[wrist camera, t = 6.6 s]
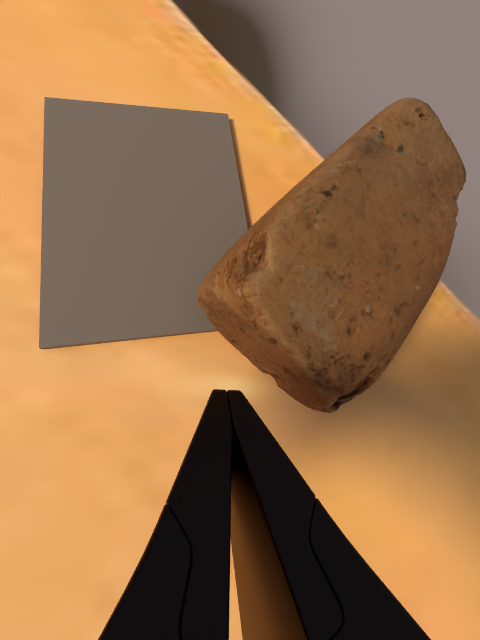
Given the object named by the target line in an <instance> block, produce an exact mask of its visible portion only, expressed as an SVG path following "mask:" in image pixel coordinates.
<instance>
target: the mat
mask: <svg viewBox="0 0 480 640" xmlns="http://www.w3.org/2000/svg"><path fill="white" fill-rule="evenodd" d="M247 230H248V226H247V221H246V215H245V209H244V203H243V198H242V192H241V186H240V181H239V175H238V169H237V163H236V158H235V152H234V146H233V140H232V135H231V129H230V123H229V118H228V114H223V113H212V112H201V111H190V110H179V109H168V108H157V107H146V106H135V105H124V104H114V103H103V102H92V101H81V100H70V99H59V98H48V97H45V106H44V152H43V197H42V242H41V287H40V333H39V348H41V349H51V348H61V347H70V346H80V345H89V344H99V343H108V342H118V341H127V340H136V339H146V338H155V337H165V336H174V335H184V334H193V333H203V332H212V331H218V330H217V329H216V328H215V327H214V325H213V324H212V323H211V322H210V321H209V319H208V318H207V314H206V313H205V312H204V311H203V310H202V308H200V307H199V304H198V300H197V294H198V290H199V286H200V285H201V283H202V281H203V280H204V278H205V277H206V275H207V274H208V272H209V271H210V270H211V269H212V267H213V266H214V265H215V264H216V263H217V261H218V260H219V259H220V258H221V257H222V256H223V255H224V253H225V252H226V251H227V250H228V249H229V248H230V247H231V246H232V245H233V244H234V243H235V242H236V241H237V240H238V239H239V238H240V237H241V236H242V235H243V234H244V233H245V232H246V231H247Z"/></svg>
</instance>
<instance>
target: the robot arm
mask: <svg viewBox="0 0 480 640" xmlns="http://www.w3.org/2000/svg"><path fill="white" fill-rule="evenodd" d="M230 537H231V544H232V553H233V561H234V570H235V578H236V586H237V595H238V603H239V612H240V620H241V628H242V637H243V640H431V639H430V638H429V637H428V636H427V634H426V633H425V632H424V631H423V630H422V628H421V627H420V626H419V625H418V624H417V622H416V621H415V620H414V619H413V618H412V616H411V615H410V614H409V613H408V612H407V610H406V609H405V608H404V607H403V606H402V605H401V603H400V602H399V601H398V600H397V599H396V597H395V596H394V595H393V594H392V593H391V591H390V590H389V589H388V588H387V587H386V585H385V584H384V583H383V582H382V581H381V580H380V578H379V577H378V576H377V575H376V574H375V572H374V571H373V570H372V569H371V568H370V566H369V565H368V564H367V563H366V562H365V560H364V559H363V558H362V557H361V555H360V554H359V553H358V552H357V550H356V549H355V548H354V547H353V545H352V544H351V543H350V542H349V541H348V539H347V538H346V537H345V535H344V534H343V533H342V531H341V530H340V529H339V527H338V526H337V525H336V523H335V522H334V521H333V519H332V518H331V517H330V515H329V514H328V512H327V511H326V510H325V508H324V507H323V505H322V504H321V503H320V501H319V500H318V499H317V498H316V499H315V494H314V493H313V491H312V490H311V489H310V487H309V486H308V484H307V483H306V482H305V480H304V479H303V477H302V476H301V475H300V473H299V472H298V470H297V469H296V468H295V466H294V465H293V463H292V462H291V461H290V459H289V458H288V456H287V455H286V454H285V452H284V451H283V449H282V448H281V447H280V445H279V444H278V442H277V441H276V440H275V438H274V437H273V435H272V434H271V432H270V431H269V430H268V428H267V427H266V425H265V424H264V423H263V421H262V420H261V418H260V417H259V416H258V414H257V413H256V411H255V410H254V409H253V407H252V406H251V404H250V403H249V402H248V400H247V399H246V397H245V396H244V395H243V393H242V392H241V391H239V390H228V391H227V392H226V390H217V389H214V390H213V391H212V393H211V395H210V397H209V400H208V402H207V405H206V407H205V409H204V412H203V414H202V417H201V419H200V422H199V424H198V426H197V429H196V431H195V434H194V436H193V438H192V441H191V443H190V446H189V448H188V450H187V453H186V455H185V458H184V460H183V462H182V465H181V467H180V470H179V472H178V474H177V477H176V479H175V482H174V484H173V486H172V489H171V491H170V494H169V496H168V499H167V501H166V505H164V508H163V510H162V512H161V515H160V517H159V520H158V522H157V524H156V527H155V529H154V531H153V533H152V536H151V538H150V540H149V542H148V544H147V547H146V549H145V551H144V553H143V555H142V557H141V559H140V561H139V563H138V565H137V567H136V569H135V571H134V573H133V575H132V577H131V579H130V581H129V583H128V585H127V587H126V589H125V591H124V593H123V594H122V596H121V598H120V600H119V602H118V604H117V605H116V607H115V609H114V611H113V613H112V615H111V617H110V618H109V620H108V622H107V624H106V626H105V628H104V630H103V631H102V633H101V635H100V637H99V639H98V640H229V592H230Z"/></svg>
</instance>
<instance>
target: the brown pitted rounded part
mask: <svg viewBox="0 0 480 640" xmlns="http://www.w3.org/2000/svg"><path fill="white" fill-rule="evenodd" d="M465 181H466V171H465V168H464V165H463V163H462V160H461V158H460V156H459V154H458V152H457V150H456V148H455V146H454V144H453V142H452V140H451V138H450V137H449V136H448V134H447V133H446V131H445V130H444V128H443V126H442V124H441V122H440V120H439V118H438V116H437V115H436V114H435V113H434V111H433V110H432V109H431V107H430V106H429V105H428V104H427V103H425V102H423V101H421V100H419V99H415V98H405V99H401V100H398V101H397V102H395V103H393V104H391V105H389V106H388V107H386V108H385V109H384V110H382V111H381V112H380V113H379V114H377V115H376V116H375V117H374V118H372V119H371V120H370V121H369V122H368V123H367V124H365V125H364V126H363V127H362V128H361V129H360V130H358V131H357V132H356V133H355V134H354V135H353V136H352V137H350V138H349V139H348V140H347V141H346V142H345V143H344V144H343V145H341V146H340V147H339V148H338V149H337V150H336V151H334V152H333V153H332V154H331V155H330V156H329V157H327V158H326V159H325V160H324V161H323V162H322V163H321V164H320V165H319V166H317V167H316V168H315V169H314V170H313V171H312V172H310V173H309V174H308V175H307V176H306V177H305V178H304V179H303V180H301V181H300V182H299V183H298V184H297V185H296V186H294V187H293V188H292V189H291V190H290V191H289V192H288V193H287V194H286V195H285V196H284V197H283V198H282V199H280V200H279V201H278V202H277V203H276V204H275V205H274V206H273V207H272V208H271V209H270V210H269V211H268V212H267V213H265V214H264V215H263V216H262V217H261V218H260V219H259V220H258V221H257V222H256V223H255V224H254V225H253V226H252V227H250V228H249V229H248V230H247V231H246V232H245V233H244V234H243V235H242V236H241V237H240V238H239V239H238V240H237V241H236V242H235V243H234V244H233V245H232V246H231V247H230V248H229V249H228V250H227V251H226V252H225V253H224V255H223V256H222V257H221V258H220V259H219V260H218V261H217V263H216V264H215V265H214V266H213V267H212V269H211V270H210V271H209V272H208V274H207V275H206V277H205V278H204V280H203V281H202V283H201V285H200V286H199V290H198V294H197V300H198V304H199V307H200V308H202V310H203V311H204V312H205V313H206V314H207V318H208V319H209V321H210V322H211V323H212V324H213V325H214V327H215V328H216V329H217V330H218V331H219V332H220V333H221V334H222V336H223V337H224V338H225V339H226V340H227V341H228V342H230V343H231V344H232V345H233V346H234V347H235V348H236V349H238V350H239V351H240V352H241V353H242V354H243V355H244V356H245V357H247V358H248V359H249V360H250V361H251V363H252V364H253V365H255V366H256V367H257V368H258V369H259V370H260V371H261V372H263V373H267V374H269V375H271V376H272V377H274V379H275V380H276V382H277V384H278V386H279V387H280V388H281V389H283V390H284V391H285V392H287V393H288V394H289V395H290V396H292V397H293V398H294V399H296V400H297V401H298V402H300V403H302V404H303V405H305V406H307V407H309V408H311V409H313V410H318V411H322V412H329V413H331V412H333V411H336V410H337V409H338V408H339V407H340V405H342V404H344V403H346V402H348V401H350V400H351V399H353V398H354V397H356V396H357V395H359V394H361V393H362V392H364V391H365V390H366V389H367V388H369V387H370V386H371V385H372V384H373V383H374V382H375V381H376V380H377V378H378V377H379V376H380V375H381V373H382V372H383V371H384V370H385V368H386V367H387V365H388V364H389V363H390V361H391V360H392V358H393V357H394V355H395V354H396V353H397V351H398V350H399V348H400V346H401V344H402V343H403V341H404V340H405V338H406V337H407V335H408V333H409V332H410V330H411V329H412V327H413V325H414V324H415V322H416V320H417V318H418V317H419V315H420V313H421V311H422V310H423V308H424V307H425V305H426V303H427V302H428V300H429V298H430V296H431V295H432V293H433V291H434V289H435V287H436V286H437V284H438V282H439V279H440V277H441V275H442V272H443V270H444V268H445V265H446V262H447V259H448V256H449V252H450V248H451V244H452V241H453V237H454V231H455V228H456V225H457V223H456V220H455V218H456V216H457V213H458V207H457V203H456V201H457V198H458V195H459V192H460V191H461V190H462V189H463V185H464V183H465Z"/></svg>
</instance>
